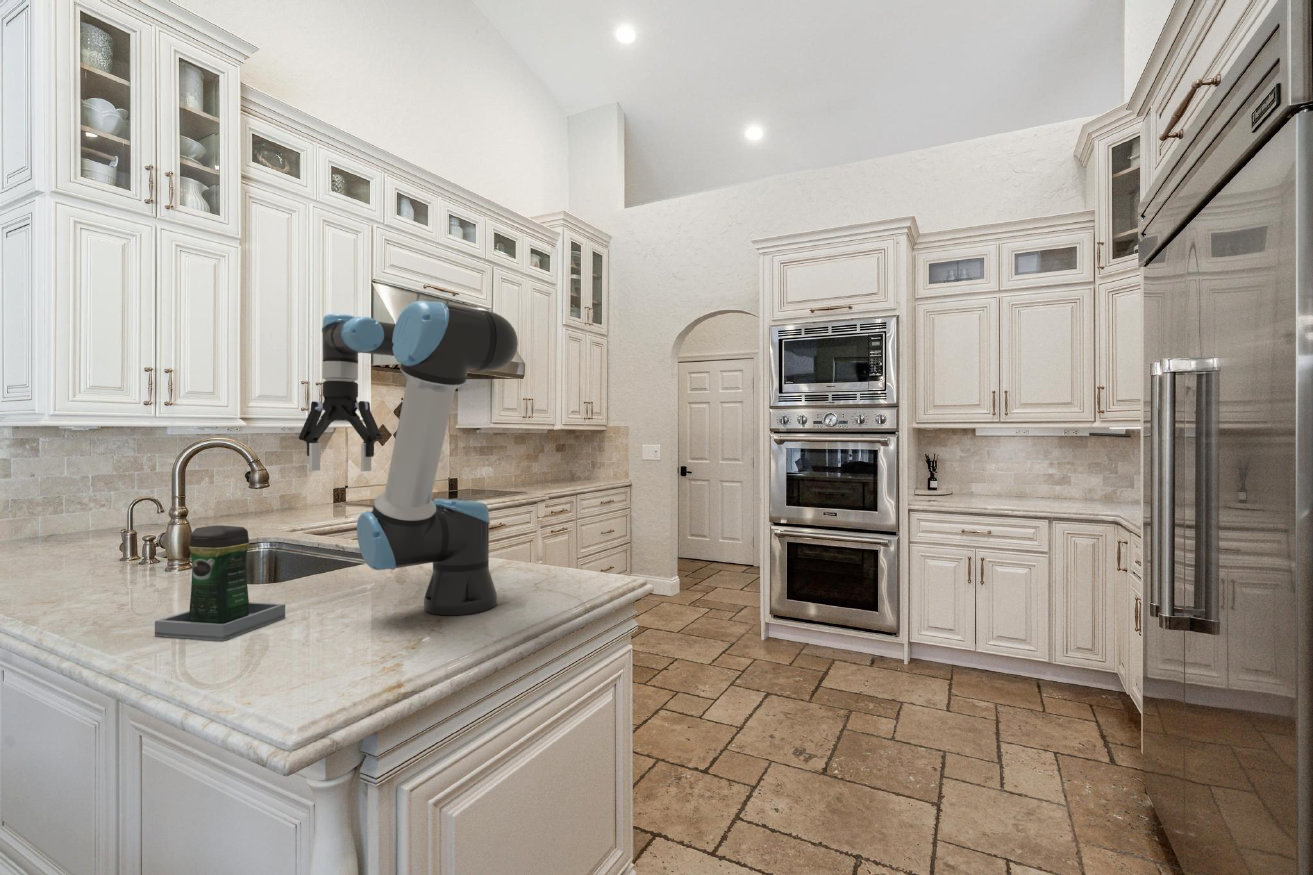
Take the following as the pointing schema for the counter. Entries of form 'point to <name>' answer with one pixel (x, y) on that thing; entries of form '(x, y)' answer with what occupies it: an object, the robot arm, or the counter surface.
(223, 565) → the coffee jar
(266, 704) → the counter surface
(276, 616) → the holder
